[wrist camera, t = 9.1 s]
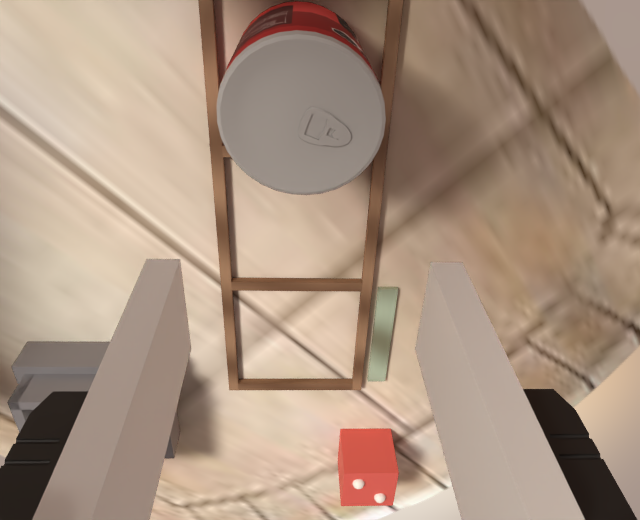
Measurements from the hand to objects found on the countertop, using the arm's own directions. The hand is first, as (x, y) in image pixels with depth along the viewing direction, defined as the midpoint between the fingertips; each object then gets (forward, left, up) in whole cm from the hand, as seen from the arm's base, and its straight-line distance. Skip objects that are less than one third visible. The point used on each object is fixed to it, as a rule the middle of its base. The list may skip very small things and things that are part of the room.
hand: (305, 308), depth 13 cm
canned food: (0, 0, -25) cm, 25 cm away
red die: (+37, +7, -25) cm, 45 cm away
